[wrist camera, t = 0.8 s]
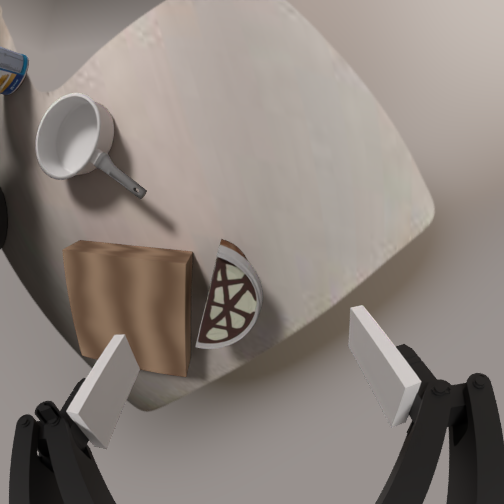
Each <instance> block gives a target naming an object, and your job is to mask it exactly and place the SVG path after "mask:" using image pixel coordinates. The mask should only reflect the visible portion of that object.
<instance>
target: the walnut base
mask: <svg viewBox="0 0 504 504" xmlns="http://www.w3.org/2000/svg"><path fill="white" fill-rule="evenodd" d="M192 257H193V252H191V251H181V250H171V249H161V248H151V247H141V246H131V245H121V244H112V243H102V242H92V241H83V240H80V241H78V242H76V243H74V244H72V245H70V246H68V247H67V248H65V249H63V260H64V269H65V276H66V283H67V290H68V296H69V301H70V307H71V312H72V317H73V321H74V326H75V330H76V334H77V338H78V342H79V346H80V350H81V353H82V356H86V357H90V358H93V359H97V360H98V359H99V357H100V356H101V354H102V353H103V351H104V350H105V348H106V347H107V345H108V344H109V342H110V341H111V339H112V338H113V336H114V335H122V334H125V336H126V338H127V340H128V343H129V345H130V348H131V350H132V352H133V355H134V357H135V359H136V361H137V364H138V366H139V368H140V370H146V371H151V372H156V373H162V374H168V375H175V376H182V377H186V376H187V371H188V367H189V363H190V358H191V283H192Z"/></svg>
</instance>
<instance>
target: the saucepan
mask: <svg viewBox="0 0 504 504" xmlns="http://www.w3.org/2000/svg"><path fill="white" fill-rule="evenodd" d="M113 137H114V124H113V119H112V117H111V114H110V112H109V111H108V110H107V108H105V107H104V106H103V105H101V104H99V103H97V102H95V101H93V100H92V99H91V98H90V97H89V96H87V95H85V94H83V93H70V94H67V95H65V96H63V97H61V98H59V99H58V100H57V101H55V102H54V103H53V104H52V105H51V106H50V108H49V109H48V110H47V111H46V113H45V114H44V116H43V118H42V120H41V122H40V125H39V128H38V131H37V135H36V156H37V160H38V163H39V165H40V167H41V169H42V170H43V171H44V172H45V173H46V174H47V175H48V176H50V177H51V178H54V179H58V180H64V179H68V178H71V177H73V176H75V175H82V174H87V173H89V172H91V171H93V170H94V169H96V168H98V169H101V170H103V171H104V172H105V173H107V174H108V175H110V176H111V177H112V178H113V179H115V180H116V181H117V182H119V183H120V184H121V185H123V186H124V187H125V188H126V189H128V190H129V191H130V192H132V193H133V194H134V195H136V196H137V197H138V198H140V199H142V198H143V197H144V196H145V194H146V192H147V190H145V189H144V188H143V187H141V186H140V185H139V184H138V183H136V182H135V181H134V180H132V179H131V178H130V177H129V176H127V175H126V174H125V173H123V172H122V171H121V170H120V169H118V168H117V167H116V166H115V165H114V163H113V162H112V160H111V158H110V156H109V155H108V153H109V151H110V148H111V145H112V142H113ZM136 188H138V189H139V191H140V192H137V191H136Z"/></svg>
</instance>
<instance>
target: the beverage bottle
mask: <svg viewBox="0 0 504 504" xmlns="http://www.w3.org/2000/svg"><path fill="white" fill-rule="evenodd" d="M28 65H29V60H28V57H27V56H26V55H23V54H20V53H16V52H14V51H11V50H8V49H5V48H3V47H0V94H4V95H9V94H11V93H13V92H14V91H15V90H16V89H17V88H18V87H19V86H20V84H21V83H22V81H23V80H24V78H25V76H26V73H27V70H28Z"/></svg>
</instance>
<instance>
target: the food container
mask: <svg viewBox="0 0 504 504" xmlns="http://www.w3.org/2000/svg"><path fill="white" fill-rule="evenodd" d="M262 301H263V291H262V285H261V282H260V279H259V277H258V275H257V273H256V271H255V269H254V268H253V267H252V265H251V264H250V263H249V262H248V261H247V259H246V257H245V255H244V254H243V252H242V251H241V250H240V249H239V248H238V247H237V246H235V245H234V244H232V243H230V242H228V241H226V240H223V239H221V242H220V245H219V249H218V253H217V259H216V263H215V267H214V270H213V275H212V279H211V283H210V287H209V291H208V296H207V300H206V304H205V308H204V312H203V316H202V321H201V325H200V329H199V333H198V338H197V342H196V346H195V347H196V348H202V349H216V348H222V347H226V346H229V345H231V344H233V343H235V342H237V341H239V340H240V339H242V338H243V337H244V336H245V335H246V334H247V333H248V332H249V331H250V330H251V329H252V327H253V326H254V324H255V323H256V321H257V319H258V316H259V314H260V310H261V306H262Z"/></svg>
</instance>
